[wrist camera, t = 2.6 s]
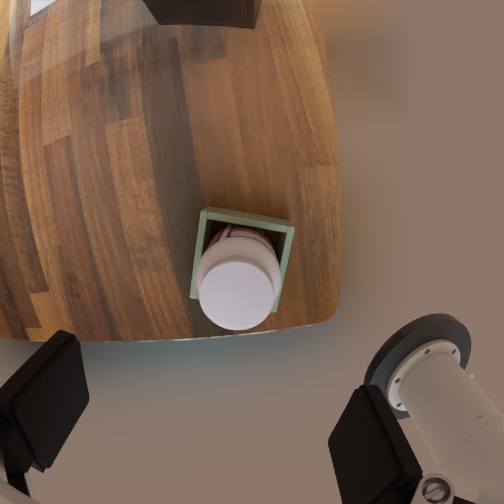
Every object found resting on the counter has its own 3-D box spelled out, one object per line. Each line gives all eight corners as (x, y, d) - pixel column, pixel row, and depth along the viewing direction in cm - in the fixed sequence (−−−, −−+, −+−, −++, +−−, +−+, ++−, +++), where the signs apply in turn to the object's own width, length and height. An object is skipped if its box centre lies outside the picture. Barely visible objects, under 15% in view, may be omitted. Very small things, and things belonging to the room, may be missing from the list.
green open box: (289, 220, 27) (295, 227, 23) (273, 295, 29) (276, 312, 25) (208, 205, 27) (200, 210, 23) (197, 282, 29) (189, 298, 25)
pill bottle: (226, 291, 29) (212, 352, 18) (199, 236, 28) (167, 272, 17) (283, 267, 28) (300, 320, 18) (258, 210, 27) (262, 231, 16)
